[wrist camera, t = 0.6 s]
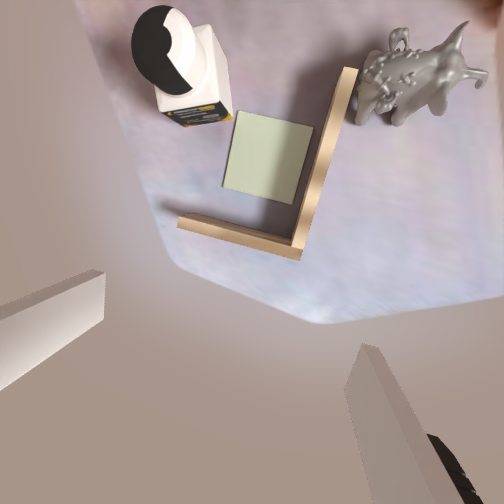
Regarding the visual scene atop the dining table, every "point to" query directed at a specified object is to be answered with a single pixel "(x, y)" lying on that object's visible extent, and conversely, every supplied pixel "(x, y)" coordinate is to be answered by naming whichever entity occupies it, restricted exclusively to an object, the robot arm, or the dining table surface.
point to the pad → (267, 156)
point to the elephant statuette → (413, 77)
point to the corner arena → (311, 196)
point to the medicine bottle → (182, 67)
